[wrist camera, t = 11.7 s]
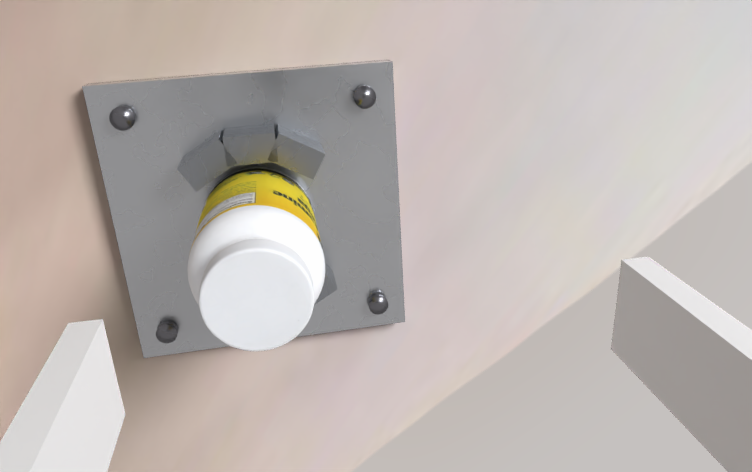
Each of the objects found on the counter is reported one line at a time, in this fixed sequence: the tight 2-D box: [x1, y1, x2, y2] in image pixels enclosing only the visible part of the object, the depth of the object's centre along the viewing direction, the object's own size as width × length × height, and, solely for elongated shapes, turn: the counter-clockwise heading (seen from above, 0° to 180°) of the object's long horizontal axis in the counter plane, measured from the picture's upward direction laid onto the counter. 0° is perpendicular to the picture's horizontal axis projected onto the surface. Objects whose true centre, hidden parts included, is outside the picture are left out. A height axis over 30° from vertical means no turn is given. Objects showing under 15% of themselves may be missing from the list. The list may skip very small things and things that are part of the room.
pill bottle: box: [187, 167, 325, 351], centre depth 31 cm, size 6×6×11 cm
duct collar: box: [82, 60, 405, 358], centre depth 35 cm, size 16×16×4 cm
